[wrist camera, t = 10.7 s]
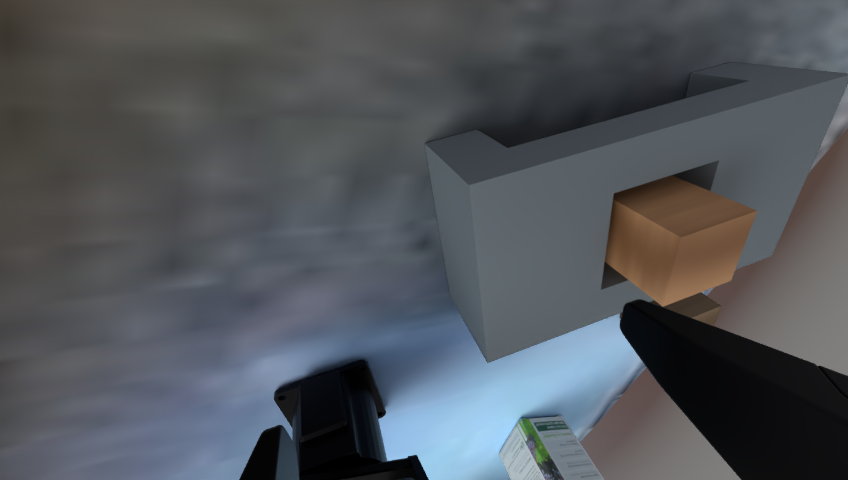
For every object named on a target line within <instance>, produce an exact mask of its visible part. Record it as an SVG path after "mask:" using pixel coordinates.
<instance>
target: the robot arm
mask: <svg viewBox="0 0 848 480" xmlns="http://www.w3.org/2000/svg"><path fill="white" fill-rule="evenodd" d="M620 329H621V331H622V333H623V335H624V336H625V338H626V339H627V340H628V342H629V343H630V345H631V346H632V347H633V349H634V350H635V352H636V353H637V354H638V356H639V357H640V359H641V360H642V361H643V363H644V364H645V366H646V367H647V369H648V370H649V371H650V373H651V374H652V375H653V376H654V378H655V379H656V381H657V382H658V383H659V384H660V386H661V387H662V388H663V389H664V391H665V392H666V393H667V394H668V395H669V396H670V397H671V399H672V400H673V401H674V402H675V403H676V404H677V406H678V407H679V408H680V409H681V410H682V411H683V413H684V414H685V415H686V416H687V417H688V418H689V420H690V421H691V422H692V423H693V424H694V425H695V427H696V428H697V429H698V430H699V431H700V432H701V433H702V434H703V436H704V437H705V438H706V439H707V440H708V442H709V443H710V444H711V445H712V446H713V447H714V449H715V450H716V451H717V452H718V453H719V454H720V455H721V457H722V458H723V459H724V460H725V461H726V462H727V464H728V465H729V466H730V467H731V468H732V469H733V471H734V472H735V473H736V474H737V475H738V476H739V478H740V479H741V480H848V376H847V375H844V374H841V373H838V372H835V371H833V370H830V369H828V368H825V367H822V366H817V365H816V364H814V363H811V362H809V361H805V360H803V359H800V358H798V357H795V356H792V355H789V354H787V353H784V352H782V351H779V350H776V349H773V348H771V347H768V346H766V345H763V344H760V343H757V342H754V341H752V340H750V339H747V338H744V337H741V336H739V335H736V334H733V333H730V332H728V331H725V330H723V329H720V328H717V327H715V326H712V325H709V324H707V323H704V322H701V321H699V320H696V319H693V318H691V317H688V316H685V315H683V314H680V313H677V312H674V311H672V310H669V309H666V308H664V307H661V306H658V305H656V304H653V303H650V302H648V301H645V300H642V299H636V300H633V301H630V302H628V303H626V304H625V305H624V307H623V311H622V316H621V320H620ZM360 367H361V368H360ZM282 395H283V396H282ZM274 400H275V402H276V404H277V405H278V407H279V408H280V410H281V411H282V413H283V414H284V416H285V417H286V419H287V420H288V422H289V423H290V425H291V427H292V428H293V441H292V439H291V438H290V436H289V434H288V433H287V431H286V429H285V428H284V427H283V426H282V425H278V426H275V427H272V428H269V429H266V430H265V431H263V432H262V434H261V435H260V437H259V440H258V442H257V444H256V446H255V448H254V450H253V452H252V454H251V456H250V458H249V461H248V463H247V465H246V467H245V469H244V471H243V473H242V475H241V477H240V479H239V480H429V479H428V477H427V475H426V473H425V471H424V469H423V467H422V465H421V463H420V461H419V459H418V457H417V455H413V456H408V458H404V459H398V460H392V461H387V458H386V453H385V449H384V444H383V439H382V435H381V430H380V425H379V421H378V419H379V418H381V417H383V416H384V415H385V414H386V411H385V407H384V404H383V402H382V399H381V396H380V394H379V391H378V388H377V386H376V383H375V381H374V378H373V375H372V373H371V370H370V368H369V365H368V362H367V361H365V360H359V361H356V362H353V363H350V364H348V365H345V366H342V367H339V368H336V369H333V370H331V371H328V372H325V373H322V374H319V375H317V376H314V377H311V378H308V379H305V380H302V381H300V382H297V383H294V384H291V385H288V386H285V387H283V388H280V389H278V390H276V391H275V393H274Z"/></svg>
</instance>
